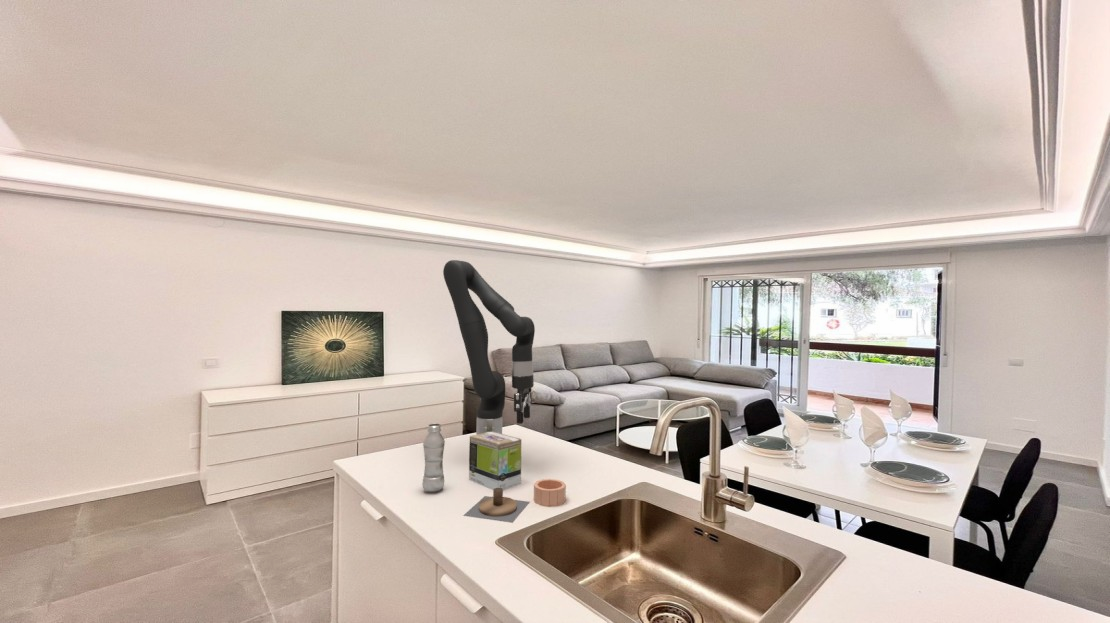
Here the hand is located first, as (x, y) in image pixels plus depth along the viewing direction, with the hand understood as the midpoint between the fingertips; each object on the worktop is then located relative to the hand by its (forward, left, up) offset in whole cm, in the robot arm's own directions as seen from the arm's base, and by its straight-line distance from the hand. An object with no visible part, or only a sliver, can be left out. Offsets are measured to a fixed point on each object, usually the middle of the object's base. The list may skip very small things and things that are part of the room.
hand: (523, 420), depth 162 cm
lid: (+4, -33, -17) cm, 38 cm away
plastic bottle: (-20, -26, -17) cm, 37 cm away
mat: (+4, -33, -17) cm, 38 cm away
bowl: (+16, -23, -17) cm, 33 cm away
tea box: (-5, -14, -18) cm, 23 cm away
